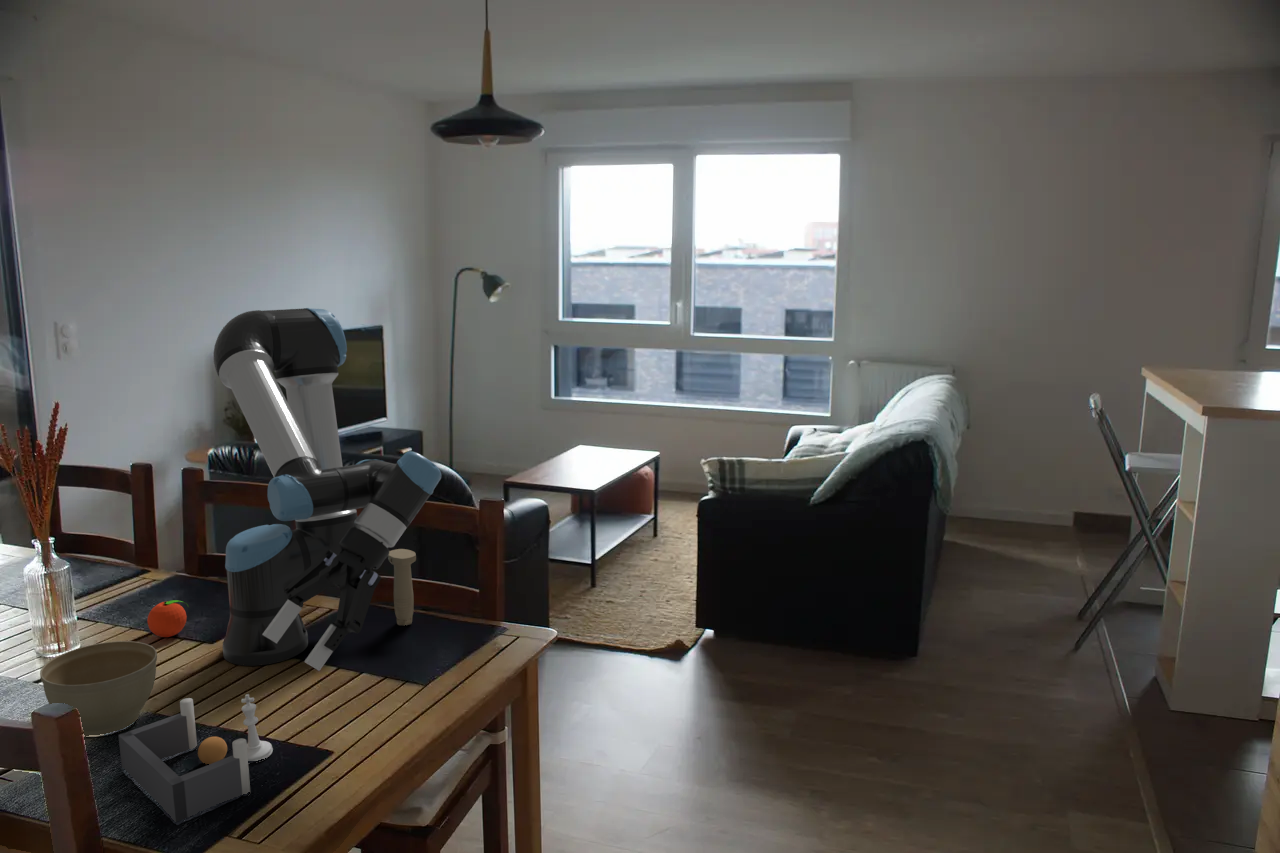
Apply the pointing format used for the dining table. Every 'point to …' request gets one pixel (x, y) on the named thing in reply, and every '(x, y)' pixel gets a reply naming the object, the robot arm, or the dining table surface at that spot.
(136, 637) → the dining table surface
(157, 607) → the clementine
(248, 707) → the chess piece
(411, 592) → the handle
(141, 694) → the planter bowl
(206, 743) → the ball
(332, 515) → the robot arm
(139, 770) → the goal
